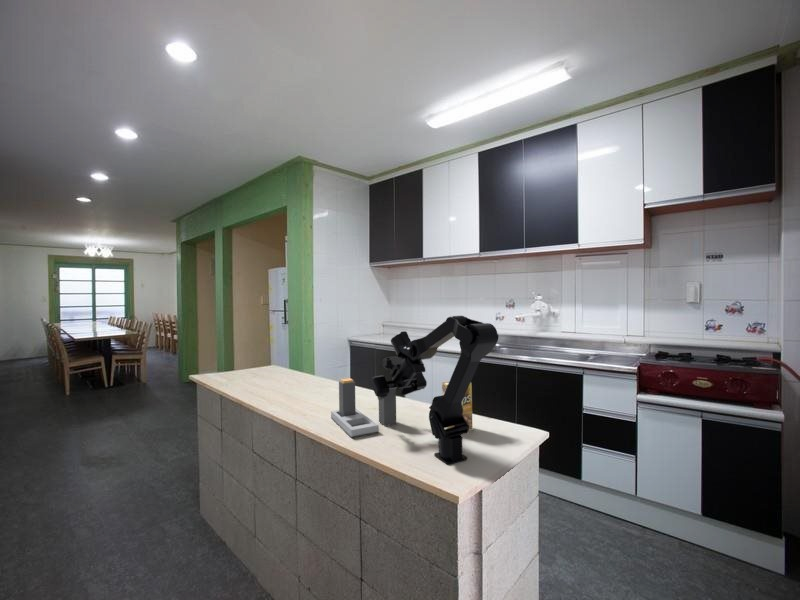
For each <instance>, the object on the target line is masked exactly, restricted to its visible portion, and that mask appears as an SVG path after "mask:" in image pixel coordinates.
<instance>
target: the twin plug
mask: <svg viewBox="0 0 800 600" xmlns="http://www.w3.org/2000/svg"><path fill="white" fill-rule="evenodd" d="M338 405H339V406H338V408H339V409H338V410H339V415H340V416H341V417H344V416H350V415H356V409H357V407H356V381H354V379H352V378H349V377H347V378H340V380H339V381H338Z"/></svg>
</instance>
